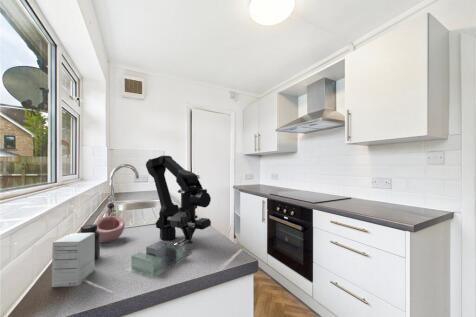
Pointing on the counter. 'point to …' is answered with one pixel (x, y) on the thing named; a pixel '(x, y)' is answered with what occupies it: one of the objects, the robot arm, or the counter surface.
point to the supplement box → (72, 259)
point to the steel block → (160, 251)
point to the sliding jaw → (178, 249)
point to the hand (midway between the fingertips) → (188, 242)
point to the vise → (152, 264)
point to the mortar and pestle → (110, 228)
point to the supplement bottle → (92, 229)
